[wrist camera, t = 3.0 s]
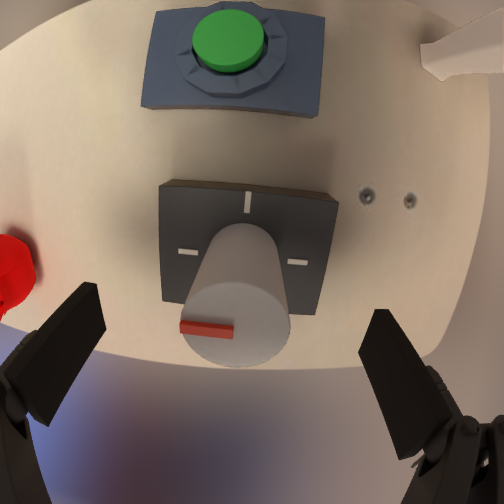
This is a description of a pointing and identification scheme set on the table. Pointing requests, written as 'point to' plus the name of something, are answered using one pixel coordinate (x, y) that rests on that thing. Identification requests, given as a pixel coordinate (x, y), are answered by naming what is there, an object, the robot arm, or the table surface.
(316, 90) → the button block
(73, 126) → the table surface
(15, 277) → the flower
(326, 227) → the dial panel
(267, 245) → the dial
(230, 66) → the button
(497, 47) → the perfume bottle
